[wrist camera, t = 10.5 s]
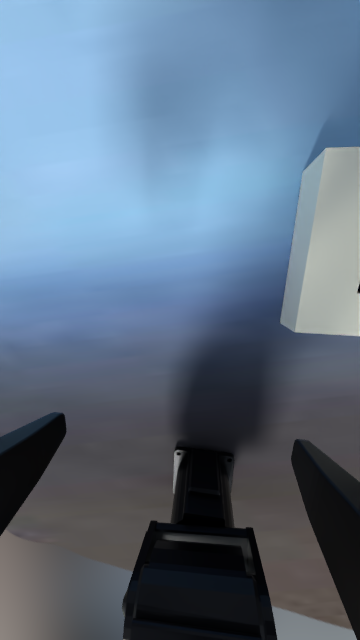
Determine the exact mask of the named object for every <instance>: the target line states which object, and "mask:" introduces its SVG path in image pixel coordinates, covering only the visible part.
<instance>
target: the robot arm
mask: <svg viewBox="0 0 360 640" xmlns="http://www.w3.org/2000/svg"><path fill="white" fill-rule="evenodd" d="M65 435H66V422H65V415H64V414H63V413H58V412H53V413H50V414H48V415H46V416H44V417H42V418H40V419H38V420H36V421H33V422H31V423H29V424H27V425H25V426H23V427H21V428H19V429H17V430H14V431H12V432H10V433H8V434H6V435H4V436H2V437H0V536H1V534H2V533H3V532H4V530H5V529H6V527H7V526H8V524H9V523H10V521H11V520H12V519H13V517H14V516H15V514H16V513H17V511H18V510H19V508H20V507H21V506H22V504H23V503H24V501H25V500H26V498H27V497H28V495H29V494H30V492H31V491H32V490H33V488H34V487H35V485H36V484H37V482H38V481H39V479H40V478H41V476H42V474H43V473H44V471H45V470H46V468H47V466H48V464H49V463H50V461H51V459H52V458H53V456H54V454H55V452H56V451H57V449H58V447H59V445H60V444H61V442H62V440H63V439H64V437H65ZM179 452H180V453H179ZM228 458H230V459H228ZM291 462H292V466H293V469H294V473H295V476H296V479H297V482H298V486H299V489H300V492H301V495H302V499H303V502H304V505H305V508H306V511H307V514H308V517H309V520H310V523H311V525H312V528H313V531H314V533H315V536H316V538H317V541H318V543H319V546H320V548H321V551H322V553H323V556H324V558H325V561H326V563H327V565H328V568H329V570H330V573H331V575H332V578H333V580H334V583H335V585H336V588H337V590H338V593H339V595H340V598H341V600H342V603H343V605H344V608H345V610H346V613H347V615H348V618H349V620H350V623H351V625H352V628H353V630H354V633H355V635H356V638H357V640H360V482H359V481H358V480H357V479H355V478H354V477H353V476H352V475H350V474H349V473H348V472H347V471H345V470H344V469H343V468H342V467H340V466H339V465H338V464H337V463H335V462H334V461H333V460H332V459H331V458H329V457H328V456H327V455H326V454H324V453H323V452H322V451H321V450H319V449H318V448H317V447H316V446H314V445H313V444H312V443H311V442H309V441H307V440H300V439H296V440H295V442H294V446H293V451H292V456H291ZM233 468H234V456H233V455H232V454H231V453H224V452H216V451H208V450H200V449H192V448H183V447H177V448H175V451H174V478H173V493H174V501H173V509H172V516H171V523H159V522H157V521H151V522H150V525H149V528H148V531H146V534H145V537H144V540H143V543H142V546H141V549H140V552H139V555H138V558H137V561H136V565H135V568H134V571H133V574H132V577H131V580H130V583H129V586H128V590H127V592H126V594H125V596H124V599H123V604H122V605H123V606H122V611H123V614H124V617H125V621H124V633H123V640H277V635H276V629H275V623H274V617H273V612H272V607H271V602H270V597H269V592H268V588H267V584H266V580H265V576H264V572H263V568H262V563H261V559H260V555H259V551H258V547H257V543H256V539H255V535H254V531H253V528H251V527H246V529H243V528H234V520H233V511H232V503H231V495H230V494H231V485H232V476H233Z"/></svg>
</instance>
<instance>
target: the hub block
mask: <svg viewBox="0 0 360 640" xmlns="http://www.w3.org/2000/svg"><path fill="white" fill-rule="evenodd" d="M359 282H360V147H336V148H325V149H324V150H323V151H322V152H321V154H320V155H319V156H318V157H317V158H316V159H315V160H314V161H313V162H312V163H311V164H310V165H309V166H308V167H307V168H306V169H305V170H304V171H303V173H302V180H301V186H300V193H299V199H298V206H297V213H296V219H295V226H294V233H293V239H292V246H291V252H290V259H289V266H288V272H287V279H286V286H285V292H284V299H283V306H282V312H281V319H280V323H281V324H282V325H284V326H285V327H287V328H289V329H290V330H292V331H293V332H298V333H315V334H332V335H348V336H360V291H358V287H359Z"/></svg>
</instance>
